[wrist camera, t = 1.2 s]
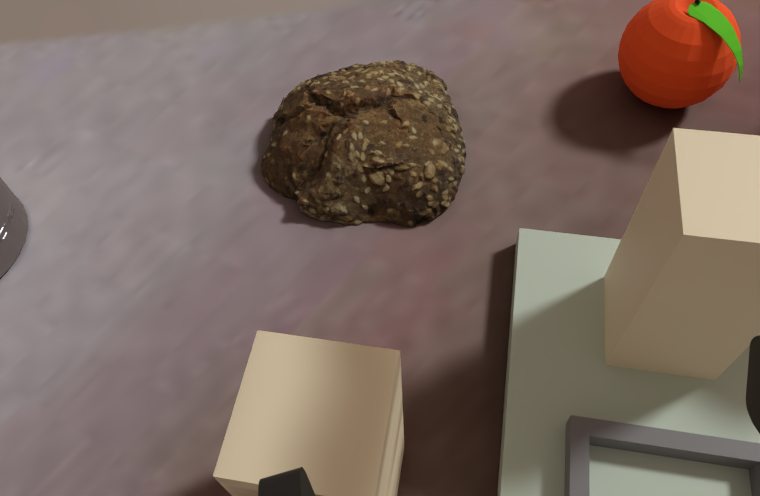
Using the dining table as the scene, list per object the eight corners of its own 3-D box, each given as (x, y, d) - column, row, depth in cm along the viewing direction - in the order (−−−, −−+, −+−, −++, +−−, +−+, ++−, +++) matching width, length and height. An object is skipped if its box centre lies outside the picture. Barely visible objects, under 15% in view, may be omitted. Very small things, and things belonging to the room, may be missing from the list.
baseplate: (486, 648, 26) (531, 626, 16) (515, 243, 37) (554, 73, 27) (859, 722, 25) (1184, 753, 14) (777, 273, 35) (927, 103, 25)
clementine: (751, 113, 42) (806, 20, 36) (670, 158, 40) (714, 67, 34) (661, 45, 46) (698, -49, 40) (584, 83, 44) (610, -10, 38)
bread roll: (455, 82, 45) (460, 22, 41) (471, 228, 38) (478, 173, 34) (272, 90, 46) (258, 31, 42) (255, 235, 39) (236, 182, 35)
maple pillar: (276, 540, 29) (212, 476, 20) (302, 431, 32) (257, 330, 23) (386, 561, 28) (373, 504, 19) (404, 447, 31) (399, 350, 22)
